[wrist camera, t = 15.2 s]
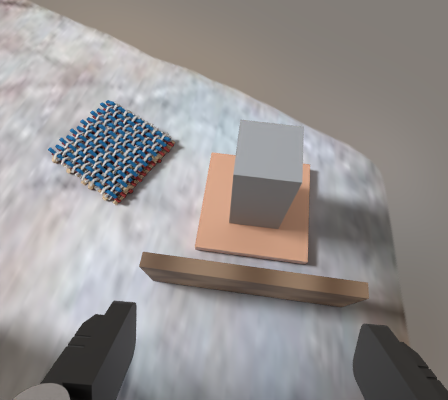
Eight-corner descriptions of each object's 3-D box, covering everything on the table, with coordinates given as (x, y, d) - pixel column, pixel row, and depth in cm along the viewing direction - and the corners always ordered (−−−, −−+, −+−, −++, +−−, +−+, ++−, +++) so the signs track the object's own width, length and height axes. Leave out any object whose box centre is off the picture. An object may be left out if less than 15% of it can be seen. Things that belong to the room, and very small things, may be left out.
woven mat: (118, 212, 34) (112, 204, 32) (50, 162, 36) (41, 152, 35) (180, 146, 38) (178, 136, 36) (114, 105, 40) (109, 93, 38)
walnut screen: (153, 280, 30) (139, 266, 25) (156, 268, 31) (142, 251, 26) (341, 307, 30) (368, 298, 24) (340, 294, 30) (368, 282, 25)
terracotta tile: (195, 249, 32) (194, 246, 31) (211, 157, 36) (211, 152, 36) (305, 264, 31) (307, 262, 30) (307, 169, 36) (310, 164, 35)
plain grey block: (229, 223, 32) (233, 174, 23) (234, 177, 34) (240, 117, 25) (278, 229, 32) (302, 182, 23) (280, 183, 34) (303, 124, 25)
